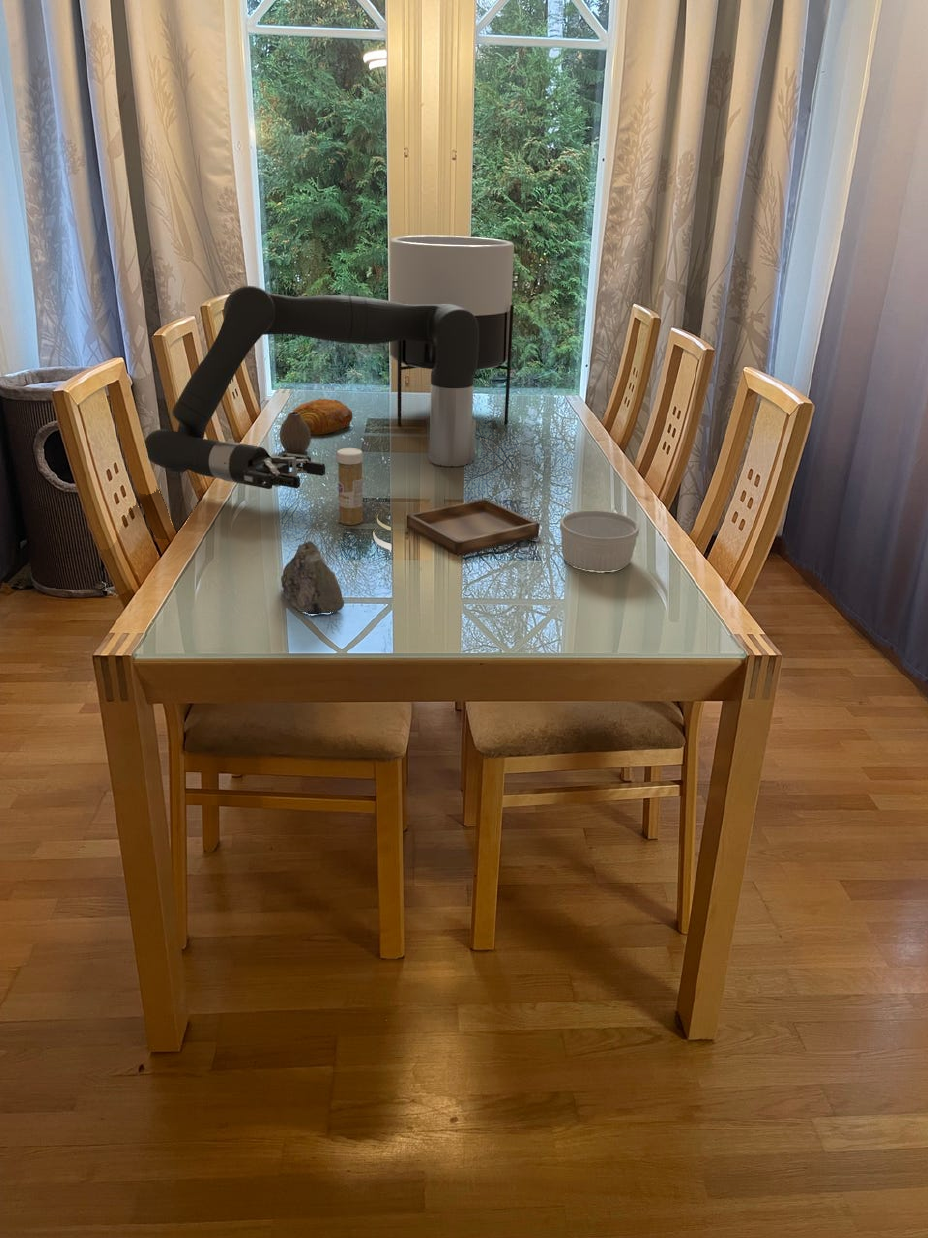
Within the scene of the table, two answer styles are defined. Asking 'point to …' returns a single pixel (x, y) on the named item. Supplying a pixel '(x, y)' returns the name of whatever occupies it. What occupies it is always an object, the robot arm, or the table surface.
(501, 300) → the planter
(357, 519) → the sprinkles bottle
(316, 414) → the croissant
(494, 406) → the table surface
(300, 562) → the mineral rock
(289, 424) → the vase
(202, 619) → the table surface
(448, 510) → the walnut tray
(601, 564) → the ramekin
